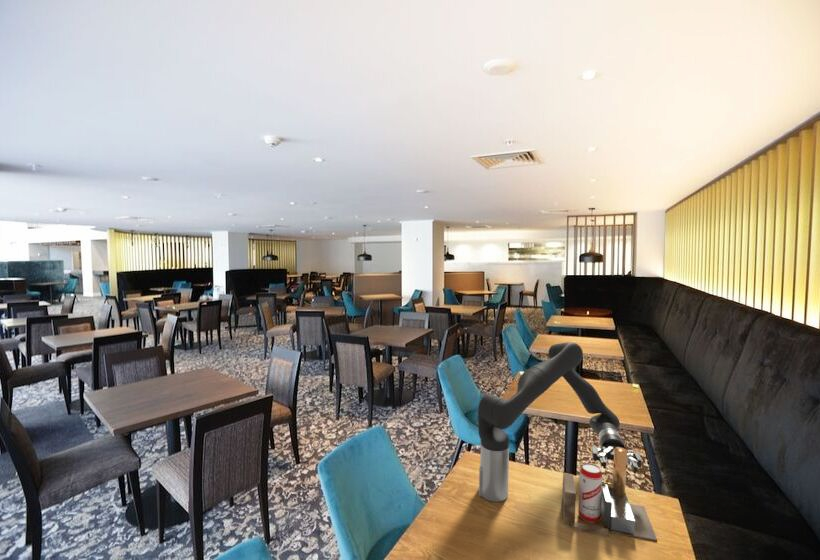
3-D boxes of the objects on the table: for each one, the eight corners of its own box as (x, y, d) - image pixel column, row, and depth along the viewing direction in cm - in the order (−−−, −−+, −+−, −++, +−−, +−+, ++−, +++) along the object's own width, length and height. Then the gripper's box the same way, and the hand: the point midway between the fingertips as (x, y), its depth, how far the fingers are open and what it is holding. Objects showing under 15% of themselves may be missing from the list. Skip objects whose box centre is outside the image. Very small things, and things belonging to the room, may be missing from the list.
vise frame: (564, 527, 118) (565, 495, 117) (561, 493, 134) (562, 464, 133) (659, 546, 110) (661, 512, 109) (643, 507, 127) (645, 477, 126)
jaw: (604, 528, 116) (607, 469, 115) (597, 496, 131) (600, 444, 129) (634, 534, 114) (637, 474, 112) (623, 501, 128) (626, 448, 126)
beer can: (602, 525, 119) (605, 474, 117) (580, 523, 120) (582, 472, 118) (597, 511, 125) (599, 463, 123) (576, 509, 126) (578, 461, 124)
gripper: (589, 430, 143) (595, 453, 127) (634, 435, 138) (646, 460, 123) (588, 450, 144) (594, 475, 128) (633, 456, 139) (644, 483, 124)
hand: (619, 468), depth 126 cm, fingers open, 8 cm apart
